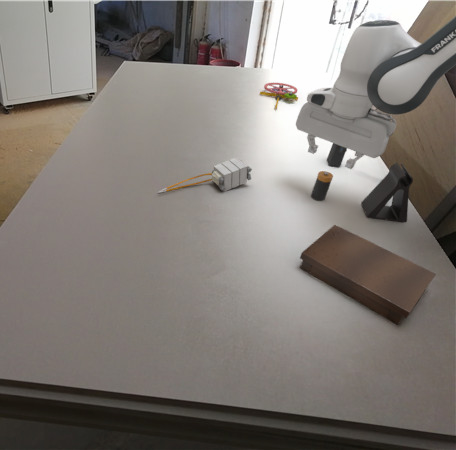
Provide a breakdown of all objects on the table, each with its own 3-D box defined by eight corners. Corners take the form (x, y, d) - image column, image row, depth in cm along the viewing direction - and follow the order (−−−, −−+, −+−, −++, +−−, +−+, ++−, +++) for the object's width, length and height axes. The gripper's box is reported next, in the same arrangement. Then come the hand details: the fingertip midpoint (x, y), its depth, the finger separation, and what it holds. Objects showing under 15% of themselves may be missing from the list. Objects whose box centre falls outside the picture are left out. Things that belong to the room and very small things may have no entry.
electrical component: (168, 215, 98) (166, 199, 94) (157, 202, 102) (155, 186, 98) (251, 181, 103) (252, 165, 100) (238, 170, 108) (238, 154, 104)
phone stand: (398, 208, 100) (419, 165, 93) (406, 222, 95) (429, 178, 88) (360, 203, 101) (379, 160, 93) (366, 217, 96) (386, 173, 89)
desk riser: (426, 288, 77) (436, 273, 75) (399, 328, 69) (409, 312, 67) (329, 238, 88) (334, 224, 86) (296, 267, 80) (301, 252, 78)
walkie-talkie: (340, 168, 115) (366, 99, 103) (328, 166, 116) (353, 97, 104) (338, 160, 119) (362, 93, 107) (326, 158, 120) (349, 91, 108)
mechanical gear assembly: (298, 88, 171) (262, 84, 174) (301, 78, 168) (264, 74, 172) (296, 113, 148) (255, 108, 151) (299, 101, 145) (257, 97, 149)
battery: (327, 197, 102) (336, 173, 98) (320, 202, 100) (329, 178, 96) (314, 192, 104) (323, 168, 100) (308, 196, 102) (316, 172, 98)
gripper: (405, 114, 83) (378, 172, 92) (315, 86, 95) (298, 141, 103) (394, 121, 80) (367, 181, 88) (301, 91, 91) (285, 147, 99)
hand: (329, 159), depth 96 cm, fingers open, 8 cm apart
